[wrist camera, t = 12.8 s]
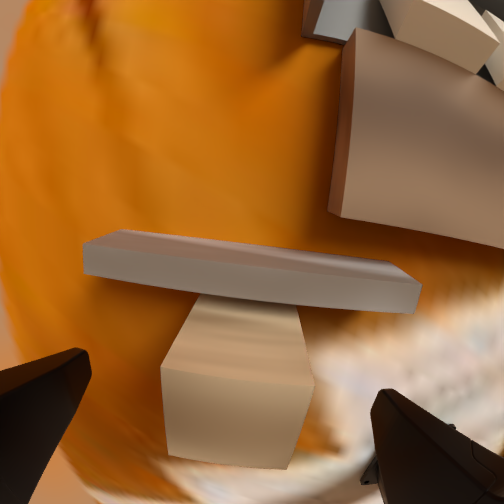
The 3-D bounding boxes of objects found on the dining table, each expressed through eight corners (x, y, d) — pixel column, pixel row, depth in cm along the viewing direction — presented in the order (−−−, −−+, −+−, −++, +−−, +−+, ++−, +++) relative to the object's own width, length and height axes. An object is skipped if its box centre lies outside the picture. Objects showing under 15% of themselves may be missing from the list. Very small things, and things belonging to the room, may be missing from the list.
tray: (545, 137, 11) (578, 136, 7) (301, 36, 11) (311, -3, 7) (531, 45, 9) (558, 35, 5) (307, -57, 9) (314, -93, 6)
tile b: (475, 74, 9) (500, 43, 6) (395, 39, 9) (414, -3, 6) (448, 25, 9) (465, -4, 7) (377, -4, 9) (389, -38, 7)
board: (521, 250, 13) (545, 259, 10) (327, 211, 13) (340, 217, 10) (531, 131, 11) (555, 129, 8) (342, 49, 11) (355, 27, 9)
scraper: (359, 366, 15) (402, 461, 8) (124, 337, 15) (59, 418, 8) (388, 261, 13) (474, 323, 6) (121, 229, 13) (23, 268, 7)
